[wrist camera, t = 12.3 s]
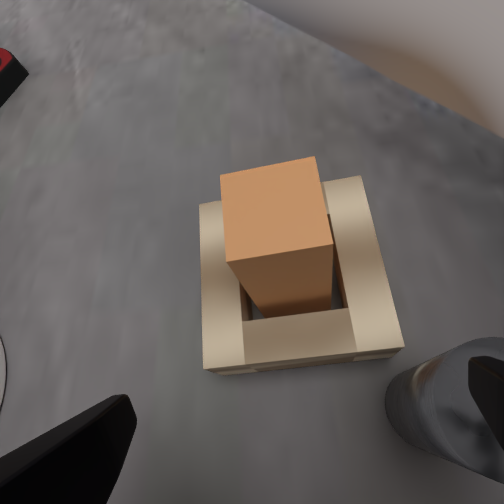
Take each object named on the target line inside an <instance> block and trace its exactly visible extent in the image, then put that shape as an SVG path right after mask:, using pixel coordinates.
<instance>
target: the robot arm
mask: <svg viewBox="0 0 504 504" xmlns="http://www.w3.org/2000/svg"><path fill="white" fill-rule="evenodd" d="M468 387H469V391H470V394H471V396H472V398H473V400H474V401H475V403H476V405H477V407H478V408H479V410H480V412H481V414H482V415H483V417H484V419H485V421H486V422H487V424H488V426H489V428H490V429H491V431H492V433H493V435H494V436H495V438H496V440H497V441H498V443H499V445H500V446H501V448H502V449H503V451H504V361H502V360H499V359H496V358H493V357H490V356H476V357H471V358H470V359H469V361H468ZM136 425H137V417H136V414H135V411H134V409H133V406H132V404H131V401H130V399H129V397H128V395H126V394H121V395H113V396H111V397H109V398H107V399H105V400H104V401H102V402H100V403H98V404H96V405H95V406H93V407H91V408H89V409H87V410H85V411H84V412H82V413H80V414H78V415H76V416H75V417H73V418H71V419H69V420H67V421H66V422H64V423H62V424H60V425H58V426H57V427H55V428H53V429H51V430H49V431H48V432H46V433H44V434H42V435H40V436H39V437H37V438H35V439H33V440H31V441H29V442H28V443H26V444H24V445H22V446H20V447H19V448H17V449H15V450H13V451H11V452H10V453H8V454H6V455H4V456H2V457H1V458H0V504H106V503H107V501H108V499H109V497H110V495H111V493H112V490H113V488H114V486H115V484H116V482H117V479H118V477H119V474H120V472H121V469H122V467H123V464H124V461H125V458H126V455H127V452H128V449H129V446H130V444H131V441H132V438H133V435H134V432H135V429H136Z"/></svg>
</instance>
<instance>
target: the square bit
mask: <svg viewBox="0 0 504 504" xmlns="http://www.w3.org/2000/svg"><path fill="white" fill-rule="evenodd" d="M220 183H221V197H222V211H223V225H224V239H225V253H226V262H227V264H228V265H229V267H230V268H231V270H232V271H233V273H234V274H235V275H236V277H237V278H238V280H239V281H240V283H241V284H242V286H243V287H244V289H245V290H246V291H247V293H248V294H249V296H250V297H251V299H252V300H253V302H254V303H255V305H256V306H257V307H258V309H259V310H260V312H261V313H262V315H263V316H264V318H265V319H266V318H274V317H282V316H289V315H297V314H305V313H313V312H321V311H328V310H331V291H332V265H333V240H332V235H331V231H330V226H329V221H328V217H327V212H326V207H325V203H324V198H323V193H322V188H321V184H320V179H319V174H318V170H317V165H316V160H315V156H313V157H308V158H303V159H298V160H293V161H288V162H283V163H278V164H273V165H268V166H263V167H258V168H254V169H249V170H244V171H239V172H234V173H229V174H224V175H220Z"/></svg>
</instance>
